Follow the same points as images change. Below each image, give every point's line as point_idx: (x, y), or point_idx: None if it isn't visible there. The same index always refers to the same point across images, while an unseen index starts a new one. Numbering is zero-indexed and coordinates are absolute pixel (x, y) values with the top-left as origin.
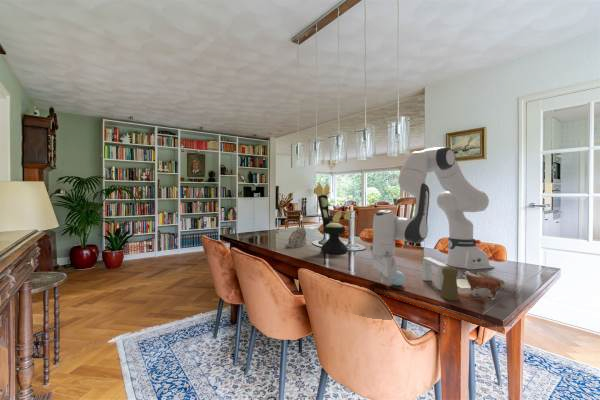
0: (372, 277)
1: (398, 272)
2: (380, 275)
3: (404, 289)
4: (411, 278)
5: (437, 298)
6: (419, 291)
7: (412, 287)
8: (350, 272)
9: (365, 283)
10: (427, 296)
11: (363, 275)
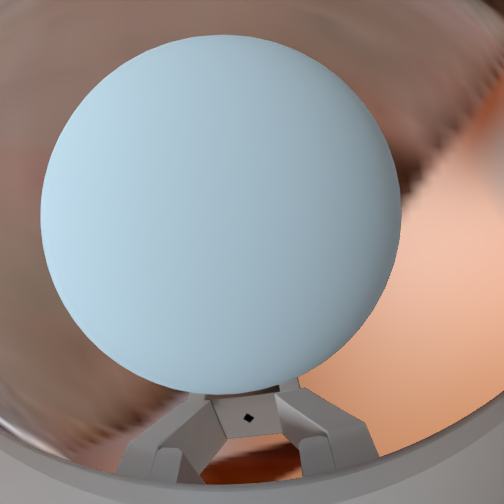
0: (44, 385)
1: (346, 192)
2: (206, 464)
3: (393, 145)
4: (14, 55)
5: (492, 22)
6: (414, 31)
7: (298, 33)
8: (34, 446)
9: (220, 464)
10: (489, 50)
11: (39, 417)
